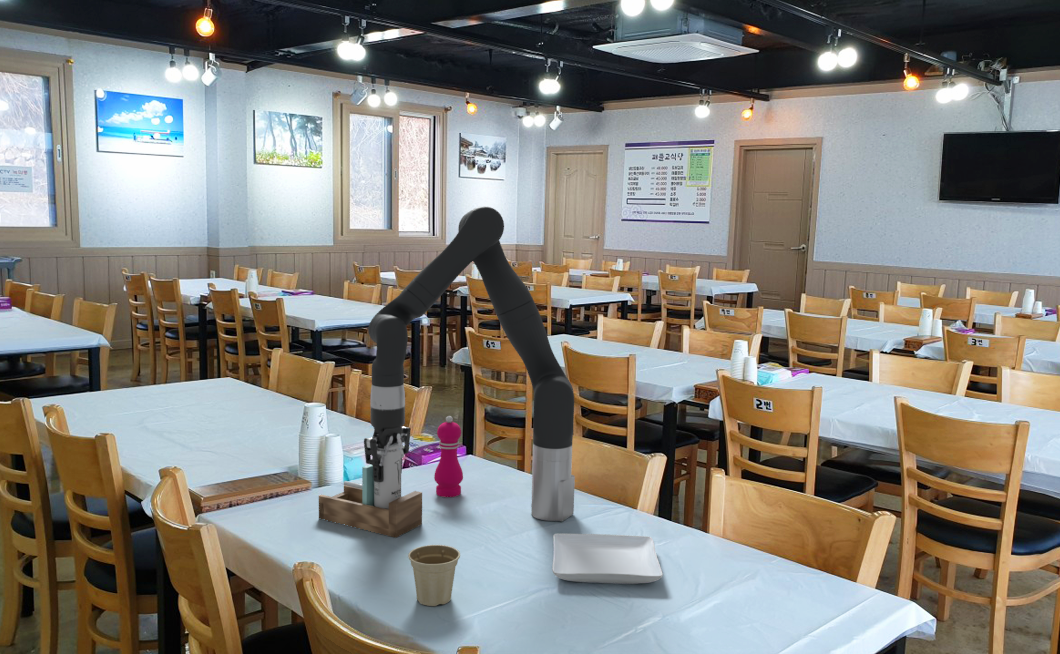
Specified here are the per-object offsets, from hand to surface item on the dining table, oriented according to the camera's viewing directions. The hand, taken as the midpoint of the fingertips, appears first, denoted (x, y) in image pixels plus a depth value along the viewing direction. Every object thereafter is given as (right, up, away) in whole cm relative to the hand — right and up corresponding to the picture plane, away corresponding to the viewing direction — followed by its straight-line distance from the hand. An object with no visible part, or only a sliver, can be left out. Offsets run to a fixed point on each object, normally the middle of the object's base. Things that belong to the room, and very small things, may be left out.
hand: (387, 477), depth 191 cm
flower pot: (+14, -16, -35) cm, 41 cm away
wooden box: (-5, -11, +4) cm, 12 cm away
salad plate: (+47, -15, -18) cm, 53 cm away
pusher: (-7, -9, +5) cm, 12 cm away
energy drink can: (0, -7, +1) cm, 7 cm away
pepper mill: (+11, -9, +24) cm, 28 cm away
